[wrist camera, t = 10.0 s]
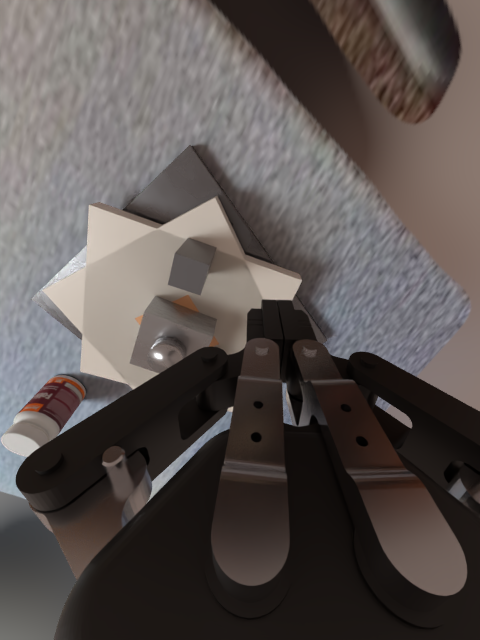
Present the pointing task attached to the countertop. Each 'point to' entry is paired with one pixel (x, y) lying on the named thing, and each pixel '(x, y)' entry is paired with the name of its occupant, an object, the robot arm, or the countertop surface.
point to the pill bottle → (44, 415)
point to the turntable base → (163, 206)
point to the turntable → (162, 283)
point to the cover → (170, 335)
